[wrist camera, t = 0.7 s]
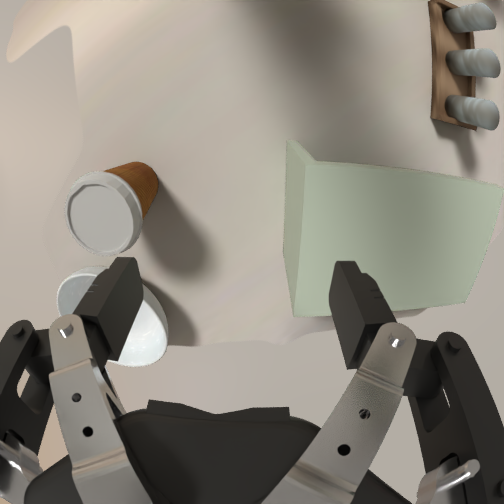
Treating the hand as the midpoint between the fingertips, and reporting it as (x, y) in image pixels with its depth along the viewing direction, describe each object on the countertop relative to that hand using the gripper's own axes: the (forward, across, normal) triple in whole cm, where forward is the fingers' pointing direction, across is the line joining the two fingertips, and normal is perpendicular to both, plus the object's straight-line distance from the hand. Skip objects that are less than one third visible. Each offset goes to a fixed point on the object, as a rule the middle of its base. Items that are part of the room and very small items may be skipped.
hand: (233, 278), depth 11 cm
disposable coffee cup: (+27, +15, +4) cm, 31 cm away
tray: (+27, -29, -17) cm, 43 cm away
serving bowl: (+27, +22, +25) cm, 43 cm away
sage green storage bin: (+26, -17, +6) cm, 32 cm away
